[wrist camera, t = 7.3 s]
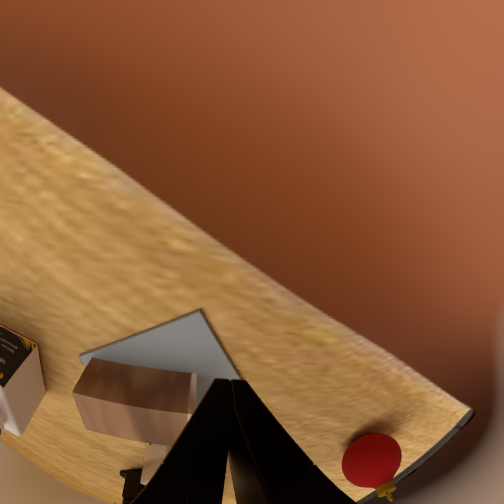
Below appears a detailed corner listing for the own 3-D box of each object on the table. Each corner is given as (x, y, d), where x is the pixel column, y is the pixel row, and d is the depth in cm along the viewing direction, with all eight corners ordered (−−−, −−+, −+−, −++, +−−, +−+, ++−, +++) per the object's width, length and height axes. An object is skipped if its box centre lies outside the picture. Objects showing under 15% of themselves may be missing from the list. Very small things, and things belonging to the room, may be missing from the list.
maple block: (198, 451, 24) (197, 488, 19) (176, 462, 25) (173, 497, 20) (168, 435, 23) (163, 474, 18) (146, 446, 24) (140, 483, 19)
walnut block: (193, 414, 17) (72, 392, 15) (193, 448, 18) (86, 429, 17) (196, 373, 21) (91, 357, 20) (196, 409, 22) (100, 394, 21)
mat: (276, 431, 25) (277, 434, 24) (174, 456, 25) (174, 459, 24) (199, 309, 20) (199, 311, 19) (79, 354, 20) (78, 357, 20)
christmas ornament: (393, 432, 28) (425, 487, 18) (347, 460, 28) (370, 517, 19) (377, 413, 26) (415, 478, 16) (324, 445, 26) (349, 513, 17)
